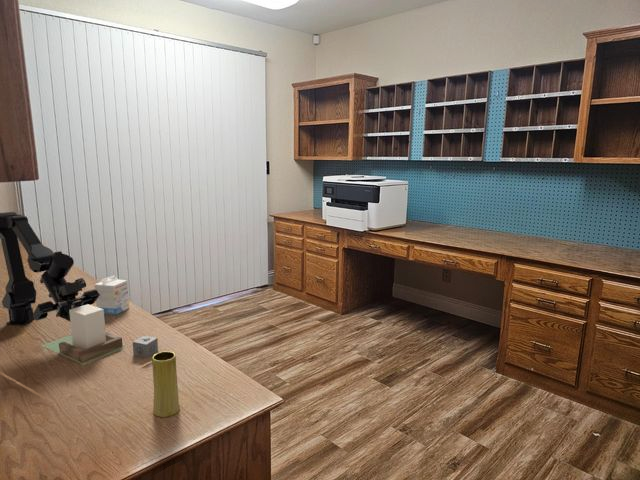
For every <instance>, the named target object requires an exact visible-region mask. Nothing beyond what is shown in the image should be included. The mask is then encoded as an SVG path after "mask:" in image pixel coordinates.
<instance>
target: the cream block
mask: <svg viewBox="0 0 640 480" xmlns="http://www.w3.org/2000/svg"><path fill="white" fill-rule="evenodd" d="M69 312H70V321H69V322H70V331H71V335H72V344H73V346H75V347H78V348H80V349H82V350H86V349H88V348H91V347H93V346H96V345H99V344H101V343H104V342H106V333H105V332H106V324H105V323H106V321H105V314H104V309H101V308H98V307H96V305H95V306H94V305H93V304H91V305H89V304H87V305H84V306H80V307H77V308H74V309H70V310H69Z"/></svg>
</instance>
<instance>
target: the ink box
mask: <svg viewBox="0 0 640 480" xmlns="http://www.w3.org/2000/svg"><path fill="white" fill-rule="evenodd" d="M94 289H95V290H97V291H98V292H99V294H100V296H99V297H98V298H97V300H96V301H95V307H98V308H101V309H104V315H114V316H117V315H118V314H121V313H123V312H125V311H126V310H128V309H129V308H130V301H129V300H130V299H129V287H128V280H126V279H119V278H118V277H117V276H116V275H110V276H108V277H105V278H102V279H100V281H99V282H97V283H95V284H94Z"/></svg>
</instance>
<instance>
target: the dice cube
mask: <svg viewBox="0 0 640 480" xmlns="http://www.w3.org/2000/svg"><path fill="white" fill-rule="evenodd" d="M158 344H159V342H158V337H155V336H149V335H142V336H141V337H139V338H137V339H135V340H133V341H132V351H133V353H132V354H133V356H136V357H140V358H144V359H148V358H149V357H151V356H153V355H155V354H156V353H158V352H159V345H158Z"/></svg>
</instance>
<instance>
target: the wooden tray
mask: <svg viewBox="0 0 640 480" xmlns="http://www.w3.org/2000/svg"><path fill="white" fill-rule="evenodd" d="M105 333H106V342H104V343H101V344H99V345H96V346H93V347H91V348H88V349H86V350H82V349H80V348H78V347H75V346H73V345H71V344H68V343H66V342H61V343H59V351H60V353H62V354H64V355H66V356H69V357H71V358H73V359H75V360H77V361H80V362H82V363H84V362H86V361H89V360H91V359H93V358H96V357H98V356H101V355H103V354H106V353H108V352H111V351H113V350H115V349H118V348H120V347H123V346H124V345H123V337H121V336H119V335H116V334H114V333H111V332H108V331H105Z"/></svg>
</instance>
